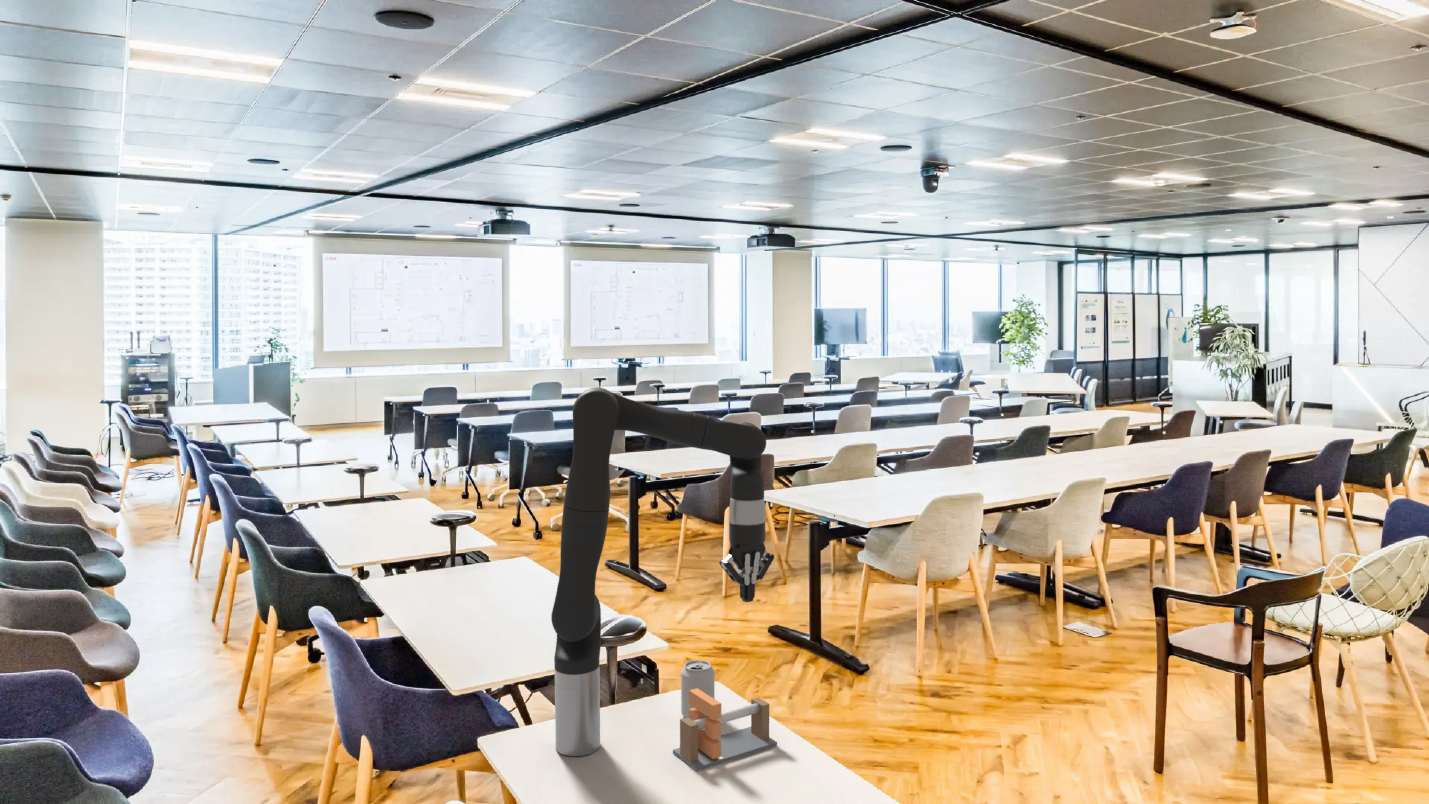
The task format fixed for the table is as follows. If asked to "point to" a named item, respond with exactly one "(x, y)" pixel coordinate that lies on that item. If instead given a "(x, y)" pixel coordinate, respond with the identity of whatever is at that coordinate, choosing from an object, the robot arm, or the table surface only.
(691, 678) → the can
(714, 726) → the collar
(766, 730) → the pipe stand
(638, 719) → the table surface
